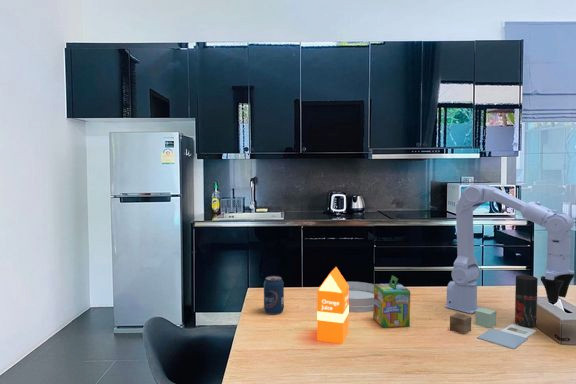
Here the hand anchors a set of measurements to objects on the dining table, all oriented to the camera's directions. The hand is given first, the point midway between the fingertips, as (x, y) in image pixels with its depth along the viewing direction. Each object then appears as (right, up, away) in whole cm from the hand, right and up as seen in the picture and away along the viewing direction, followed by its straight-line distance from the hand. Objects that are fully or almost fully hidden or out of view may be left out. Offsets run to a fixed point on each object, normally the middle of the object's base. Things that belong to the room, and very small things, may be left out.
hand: (556, 299), depth 122 cm
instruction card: (-11, -10, +1) cm, 15 cm away
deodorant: (-5, -10, +7) cm, 13 cm away
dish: (-56, -9, +30) cm, 64 cm away
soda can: (-85, -10, +20) cm, 88 cm away
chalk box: (-47, -10, +10) cm, 49 cm away
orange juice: (-67, -11, -1) cm, 68 cm away
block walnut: (-28, -10, +3) cm, 30 cm away
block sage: (-18, -10, +7) cm, 22 cm away
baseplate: (-18, -10, -4) cm, 21 cm away
